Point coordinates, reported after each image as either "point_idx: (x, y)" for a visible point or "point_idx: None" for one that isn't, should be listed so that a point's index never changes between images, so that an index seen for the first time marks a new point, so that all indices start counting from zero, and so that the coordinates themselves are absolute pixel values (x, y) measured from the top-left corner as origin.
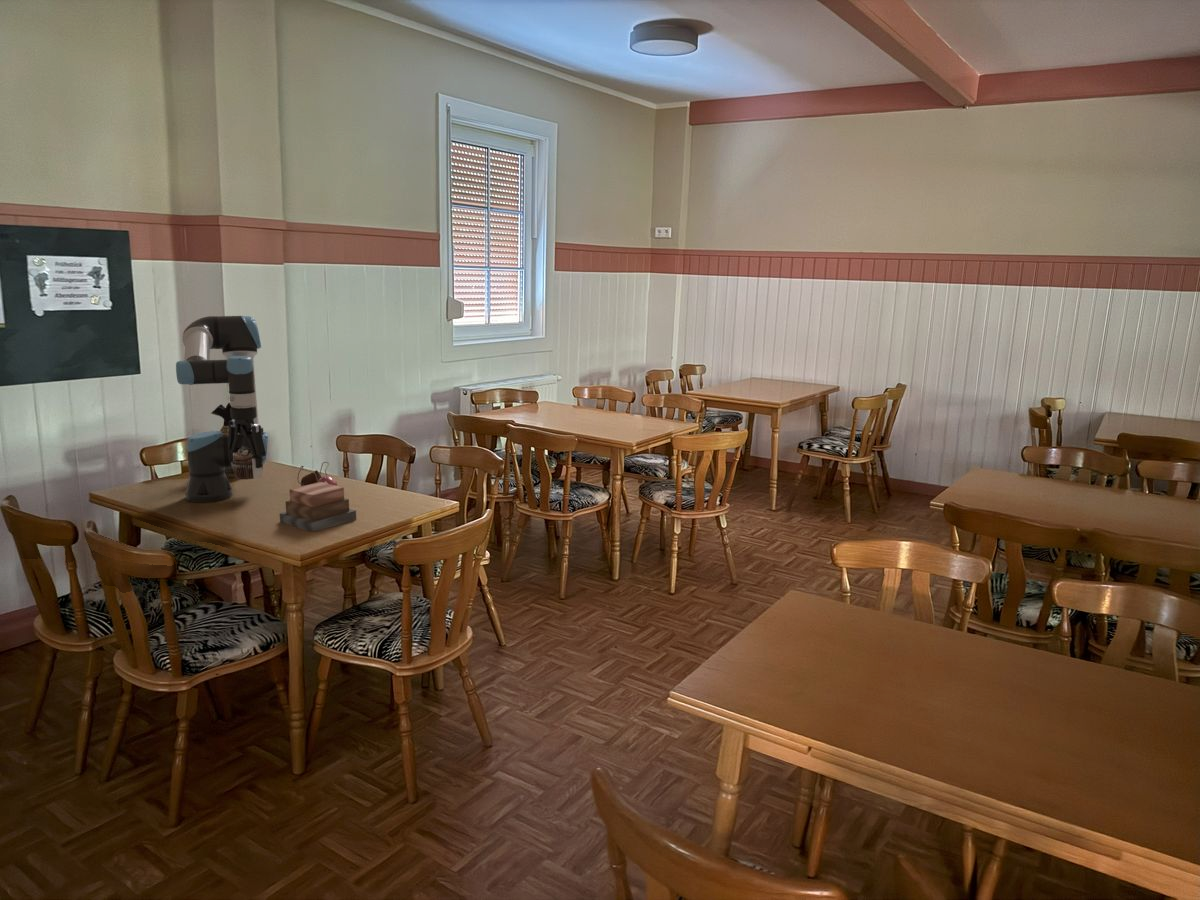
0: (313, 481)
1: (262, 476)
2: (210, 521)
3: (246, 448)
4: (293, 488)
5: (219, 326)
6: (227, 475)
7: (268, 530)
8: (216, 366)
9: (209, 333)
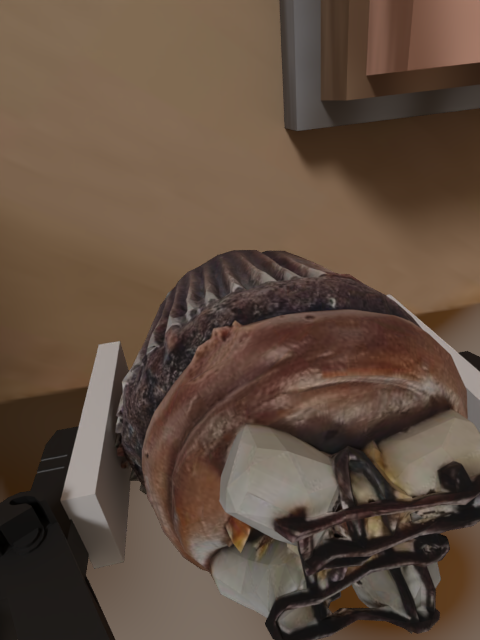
0: None
1: (392, 296)
2: (68, 337)
3: (414, 601)
4: (417, 30)
5: None
6: None
7: (346, 225)
8: None
9: None
